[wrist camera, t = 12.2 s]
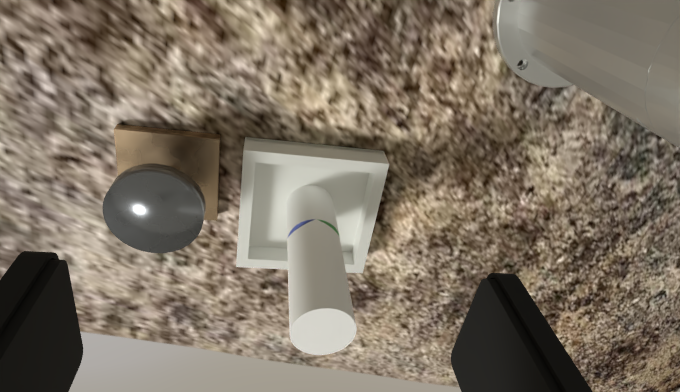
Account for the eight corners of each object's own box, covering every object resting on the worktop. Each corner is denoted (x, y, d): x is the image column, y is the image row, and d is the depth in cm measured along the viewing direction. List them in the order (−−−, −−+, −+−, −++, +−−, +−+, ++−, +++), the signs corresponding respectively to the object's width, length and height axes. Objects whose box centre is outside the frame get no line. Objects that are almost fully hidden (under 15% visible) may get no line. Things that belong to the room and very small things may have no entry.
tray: (383, 150, 41) (389, 164, 39) (358, 256, 47) (362, 273, 45) (245, 136, 39) (243, 150, 37) (238, 249, 45) (236, 266, 43)
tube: (329, 225, 44) (350, 355, 31) (284, 223, 43) (286, 354, 30) (336, 186, 42) (361, 308, 29) (288, 183, 41) (292, 307, 28)
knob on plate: (220, 134, 38) (211, 173, 33) (218, 214, 42) (208, 260, 37) (117, 123, 37) (89, 162, 31) (125, 207, 41) (100, 255, 35)
